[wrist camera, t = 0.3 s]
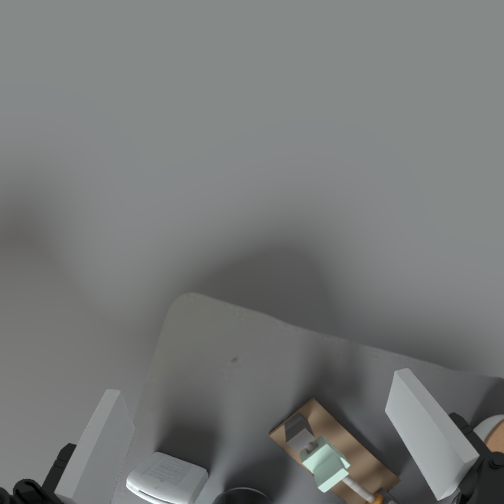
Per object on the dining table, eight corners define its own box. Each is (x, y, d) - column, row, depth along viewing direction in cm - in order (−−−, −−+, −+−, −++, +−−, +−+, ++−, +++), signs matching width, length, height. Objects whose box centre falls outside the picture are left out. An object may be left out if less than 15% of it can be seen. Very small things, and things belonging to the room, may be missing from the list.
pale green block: (344, 455, 33) (360, 480, 25) (322, 472, 33) (332, 501, 24) (321, 434, 34) (333, 457, 26) (299, 452, 34) (305, 479, 25)
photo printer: (150, 466, 40) (118, 493, 28) (153, 447, 41) (121, 472, 29) (205, 486, 39) (187, 521, 27) (211, 467, 40) (192, 501, 28)
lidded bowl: (478, 400, 38) (514, 407, 28) (508, 421, 36) (541, 428, 25) (442, 458, 36) (473, 476, 25) (476, 473, 33) (505, 489, 23)
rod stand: (397, 477, 36) (422, 502, 26) (358, 509, 35) (374, 540, 24) (312, 396, 42) (323, 413, 32) (269, 433, 41) (267, 457, 31)
